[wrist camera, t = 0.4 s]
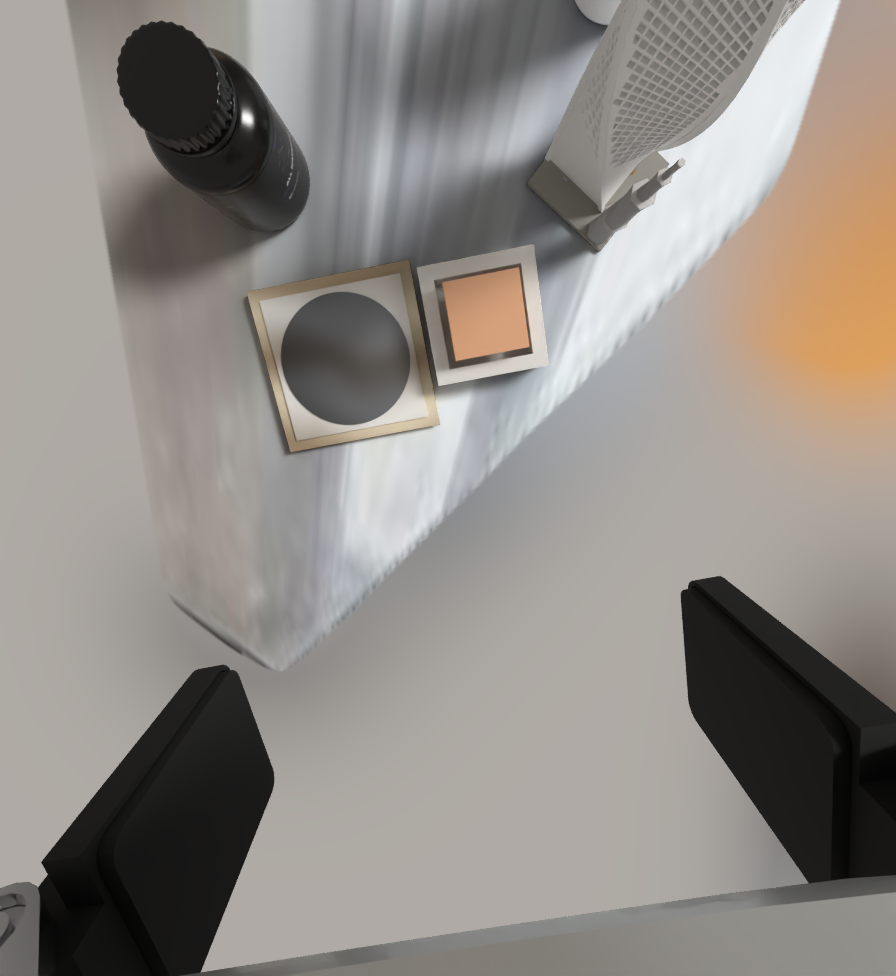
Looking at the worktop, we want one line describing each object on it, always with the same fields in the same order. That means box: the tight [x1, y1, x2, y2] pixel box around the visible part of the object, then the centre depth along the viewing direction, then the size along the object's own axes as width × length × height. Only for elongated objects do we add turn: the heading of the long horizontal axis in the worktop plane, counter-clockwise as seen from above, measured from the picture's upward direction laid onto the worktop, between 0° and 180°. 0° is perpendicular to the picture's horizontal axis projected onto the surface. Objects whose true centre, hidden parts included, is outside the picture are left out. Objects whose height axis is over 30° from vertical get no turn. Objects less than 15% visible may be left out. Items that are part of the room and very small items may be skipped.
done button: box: [442, 267, 529, 361], centre depth 32 cm, size 5×5×2 cm
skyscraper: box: [527, 0, 805, 252], centre depth 20 cm, size 8×8×28 cm
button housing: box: [417, 244, 549, 386], centre depth 35 cm, size 8×8×3 cm
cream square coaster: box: [247, 260, 440, 452], centre depth 36 cm, size 12×12×1 cm
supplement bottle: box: [117, 21, 310, 232], centre depth 28 cm, size 7×7×12 cm
